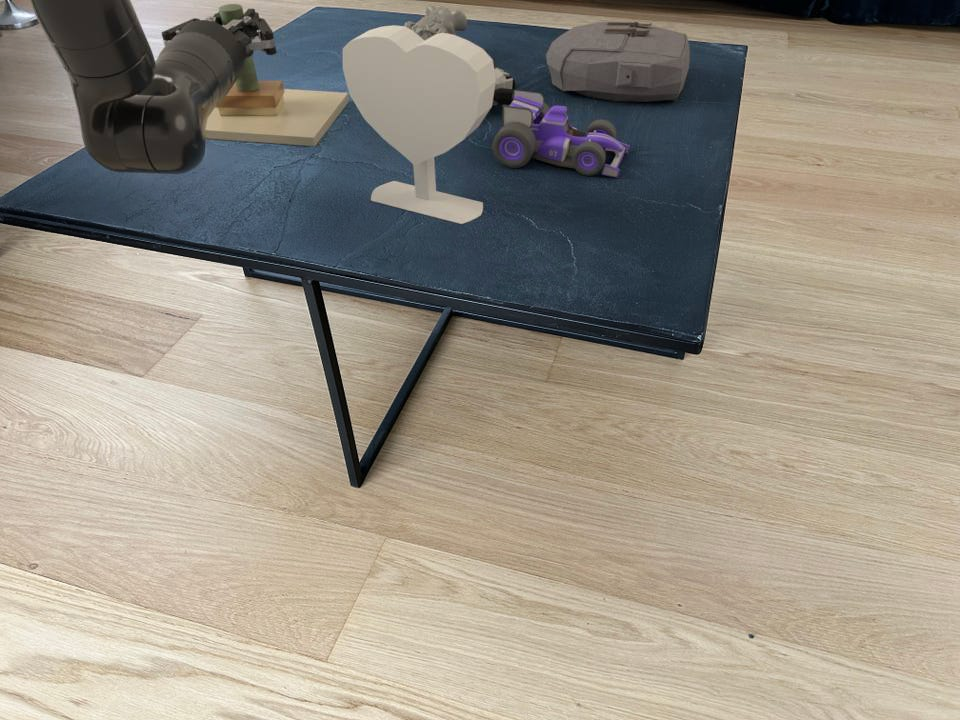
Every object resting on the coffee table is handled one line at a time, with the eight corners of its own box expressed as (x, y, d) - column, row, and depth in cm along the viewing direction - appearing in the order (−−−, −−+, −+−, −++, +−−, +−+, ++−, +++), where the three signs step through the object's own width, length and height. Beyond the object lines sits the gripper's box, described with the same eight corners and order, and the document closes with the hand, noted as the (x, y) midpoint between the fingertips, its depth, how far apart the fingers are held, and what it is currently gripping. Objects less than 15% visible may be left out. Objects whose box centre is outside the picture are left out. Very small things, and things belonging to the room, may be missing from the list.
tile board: (168, 135, 97) (165, 127, 96) (215, 92, 107) (213, 84, 107) (315, 146, 94) (313, 137, 94) (349, 101, 105) (348, 92, 104)
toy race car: (615, 184, 86) (621, 130, 82) (491, 165, 90) (491, 113, 86) (631, 148, 93) (638, 96, 88) (515, 131, 97) (516, 81, 92)
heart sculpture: (498, 206, 83) (499, 38, 71) (478, 228, 80) (475, 56, 68) (379, 177, 88) (361, 16, 76) (355, 196, 85) (332, 31, 73)
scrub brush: (217, 116, 98) (191, 14, 90) (227, 101, 102) (203, 1, 94) (278, 116, 98) (257, 13, 90) (286, 100, 102) (267, 0, 93)
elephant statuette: (395, 73, 112) (390, 19, 107) (422, 46, 120) (419, -6, 115) (454, 80, 110) (452, 25, 104) (477, 51, 118) (477, -1, 113)
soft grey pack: (687, 71, 111) (553, 60, 115) (697, 11, 105) (556, 2, 109) (682, 113, 100) (535, 100, 104) (693, 49, 94) (537, 38, 98)
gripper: (255, 32, 80) (289, -16, 92) (124, 33, 80) (177, -15, 93) (269, 101, 85) (300, 46, 98) (146, 101, 85) (193, 47, 98)
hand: (240, 17), depth 95 cm, fingers closed on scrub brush, 3 cm apart
